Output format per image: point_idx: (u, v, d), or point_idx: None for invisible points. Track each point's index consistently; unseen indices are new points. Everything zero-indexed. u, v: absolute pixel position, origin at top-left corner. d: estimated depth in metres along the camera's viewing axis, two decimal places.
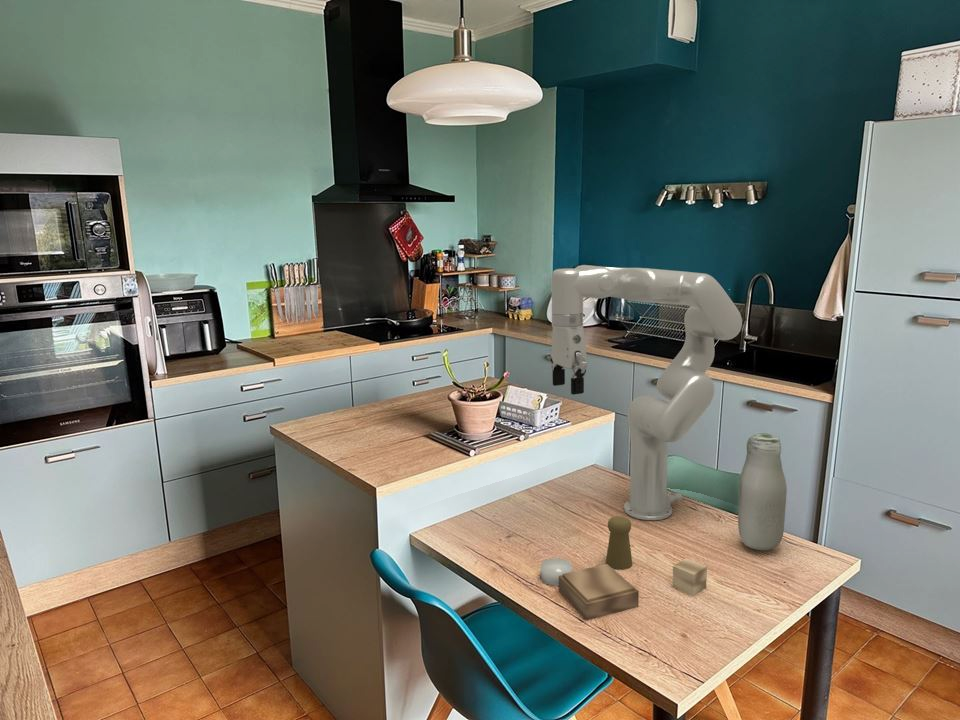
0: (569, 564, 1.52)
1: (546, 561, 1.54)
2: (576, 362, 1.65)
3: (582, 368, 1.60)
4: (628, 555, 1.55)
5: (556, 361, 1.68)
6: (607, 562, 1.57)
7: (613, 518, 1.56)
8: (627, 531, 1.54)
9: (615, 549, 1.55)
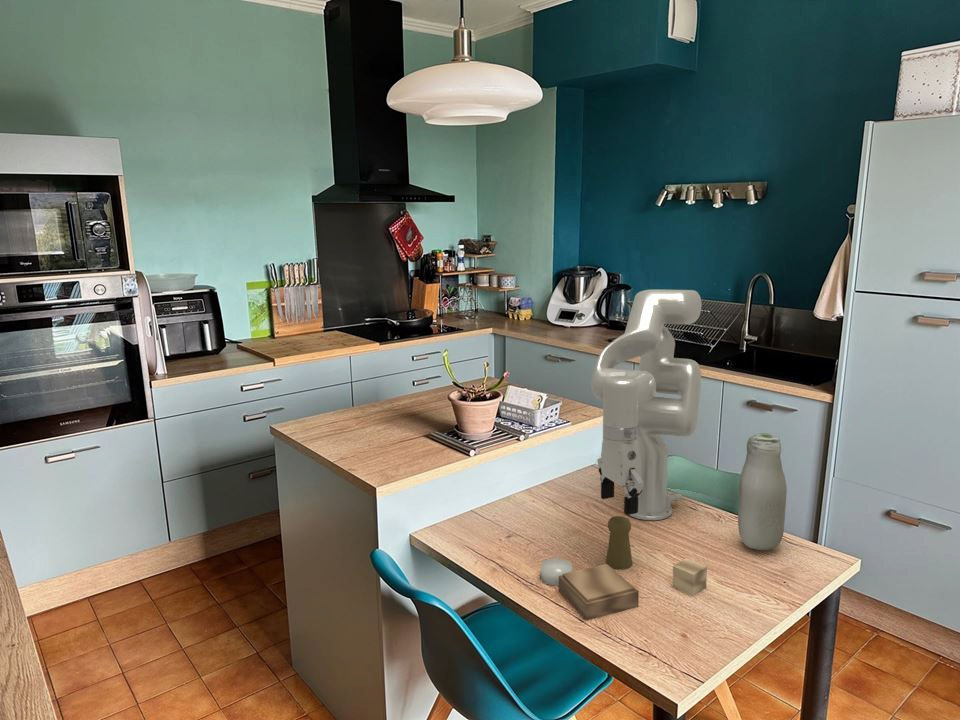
0: (569, 564, 1.52)
1: (546, 561, 1.54)
2: (630, 479, 1.50)
3: (638, 488, 1.45)
4: (628, 555, 1.55)
5: (606, 475, 1.54)
6: (607, 562, 1.57)
7: (613, 518, 1.56)
8: (627, 531, 1.54)
9: (615, 549, 1.55)
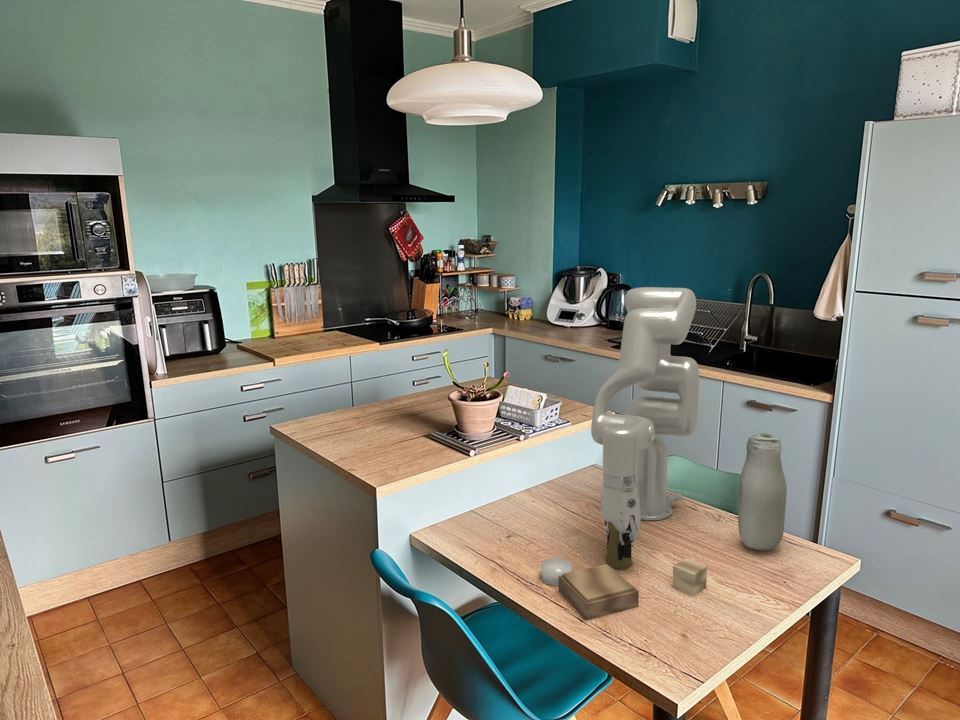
0: (569, 564, 1.52)
1: (546, 561, 1.54)
2: None
3: (632, 540, 1.51)
4: None
5: (607, 520, 1.57)
6: (607, 562, 1.57)
7: None
8: None
9: (615, 549, 1.55)
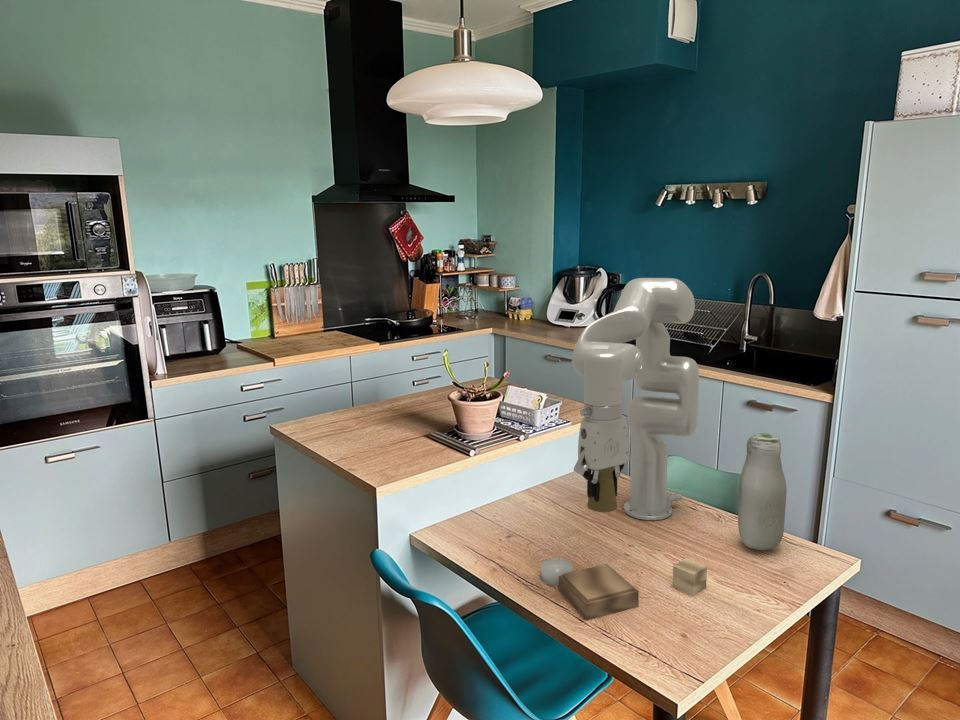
0: (569, 564, 1.52)
1: (546, 561, 1.54)
2: None
3: None
4: None
5: None
6: None
7: None
8: None
9: None
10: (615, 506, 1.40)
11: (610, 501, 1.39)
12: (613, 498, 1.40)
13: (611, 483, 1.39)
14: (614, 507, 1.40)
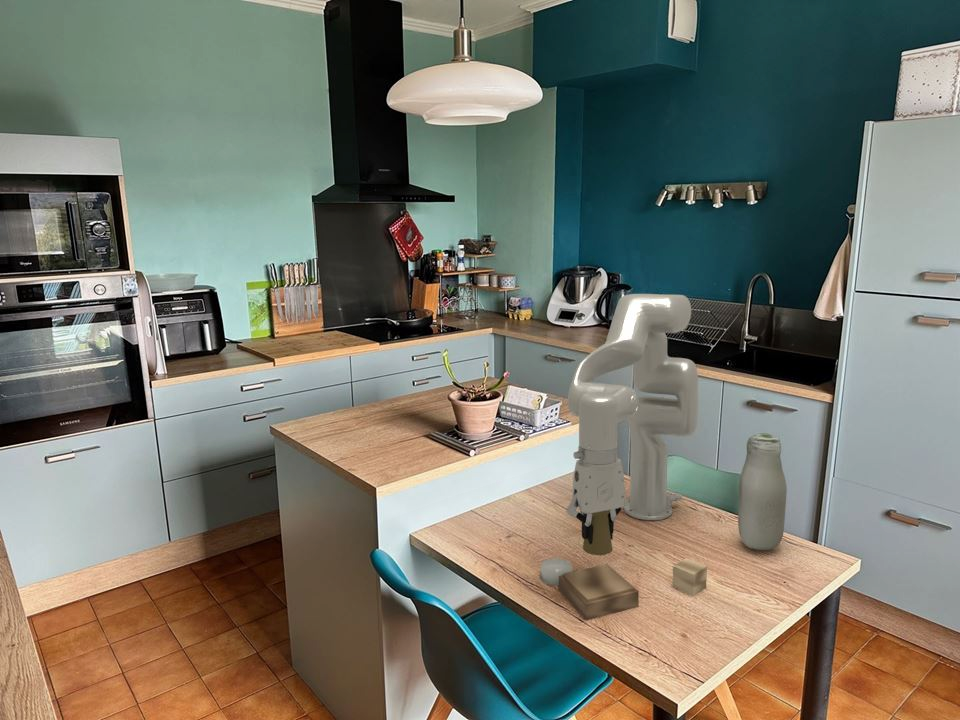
0: (569, 564, 1.52)
1: (546, 561, 1.54)
2: None
3: None
4: None
5: None
6: None
7: None
8: None
9: None
10: (609, 550, 1.39)
11: (604, 544, 1.38)
12: (607, 542, 1.39)
13: (605, 526, 1.38)
14: (608, 551, 1.39)
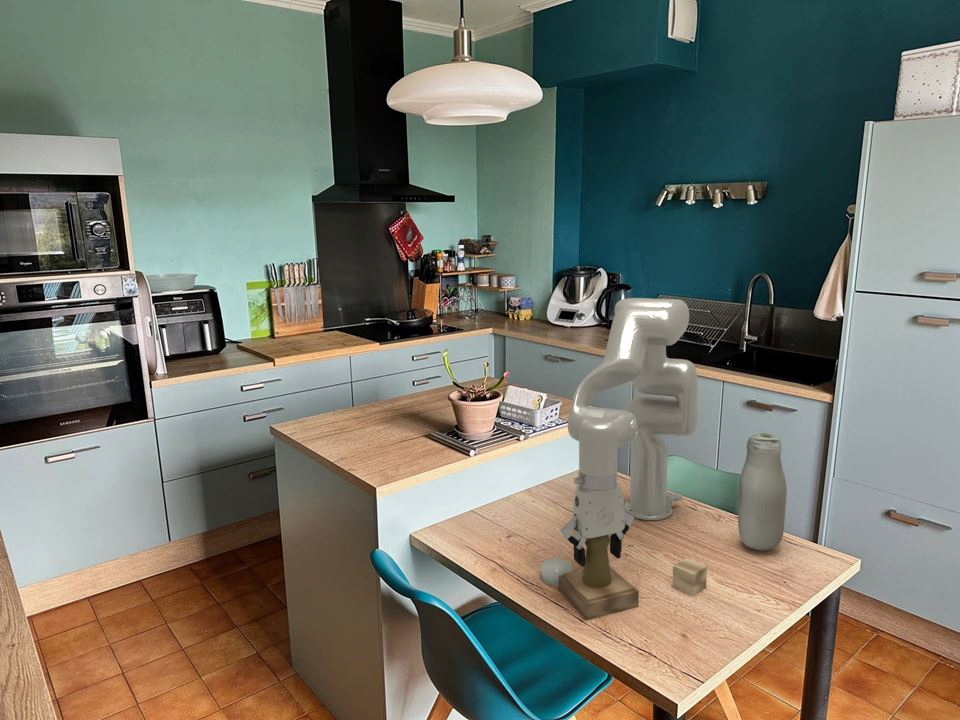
0: (569, 564, 1.52)
1: (546, 561, 1.54)
2: None
3: (564, 535, 1.38)
4: (589, 572, 1.41)
5: None
6: None
7: None
8: (588, 545, 1.40)
9: None
10: (609, 582, 1.41)
11: (603, 576, 1.40)
12: (607, 574, 1.41)
13: (605, 559, 1.40)
14: (607, 583, 1.41)
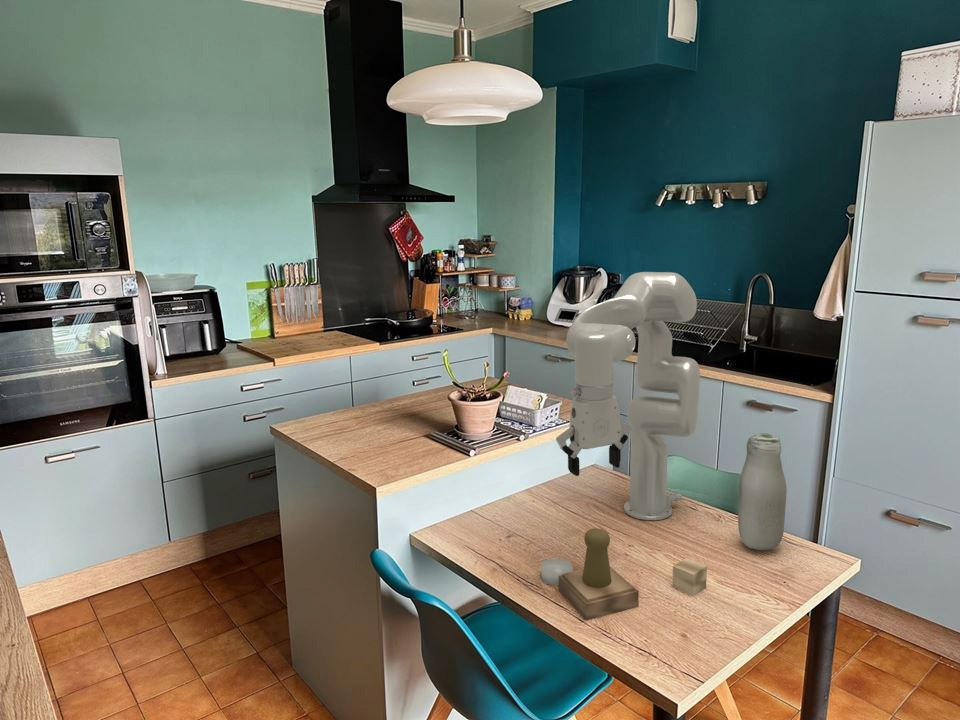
0: (569, 564, 1.52)
1: (546, 561, 1.54)
2: None
3: (559, 444, 1.40)
4: (589, 572, 1.41)
5: None
6: None
7: (597, 529, 1.42)
8: (588, 544, 1.40)
9: None
10: (609, 582, 1.41)
11: (603, 576, 1.40)
12: (607, 574, 1.41)
13: (605, 559, 1.40)
14: (607, 583, 1.41)
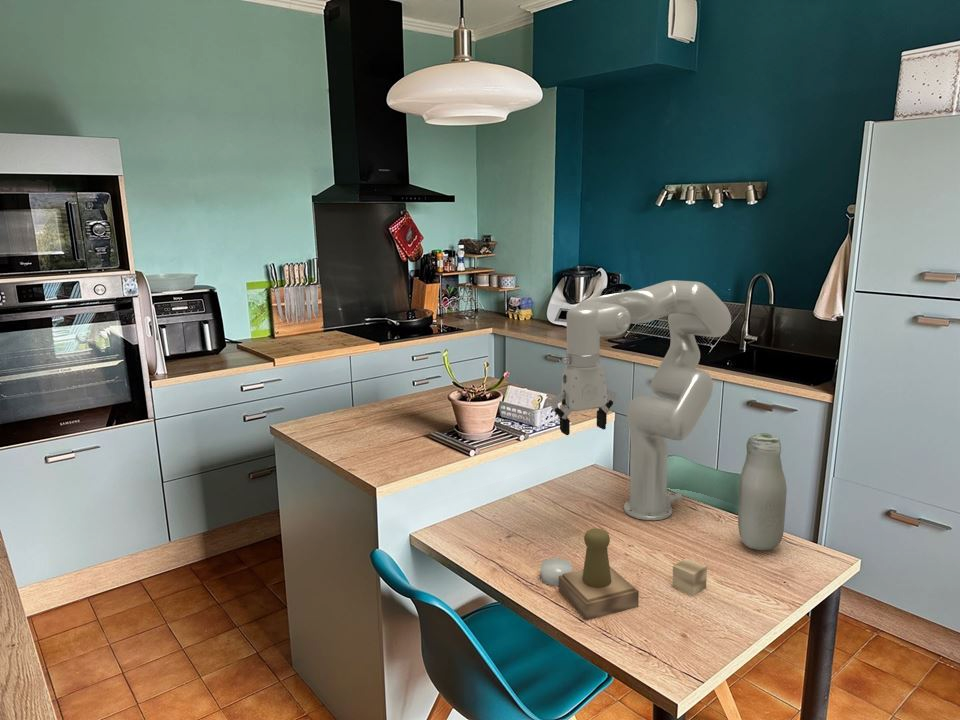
0: (569, 564, 1.52)
1: (546, 561, 1.54)
2: None
3: (551, 406, 1.59)
4: (589, 572, 1.41)
5: None
6: None
7: (597, 528, 1.42)
8: (588, 544, 1.40)
9: None
10: (609, 582, 1.41)
11: (603, 576, 1.40)
12: (606, 574, 1.41)
13: (605, 559, 1.40)
14: (607, 583, 1.41)
